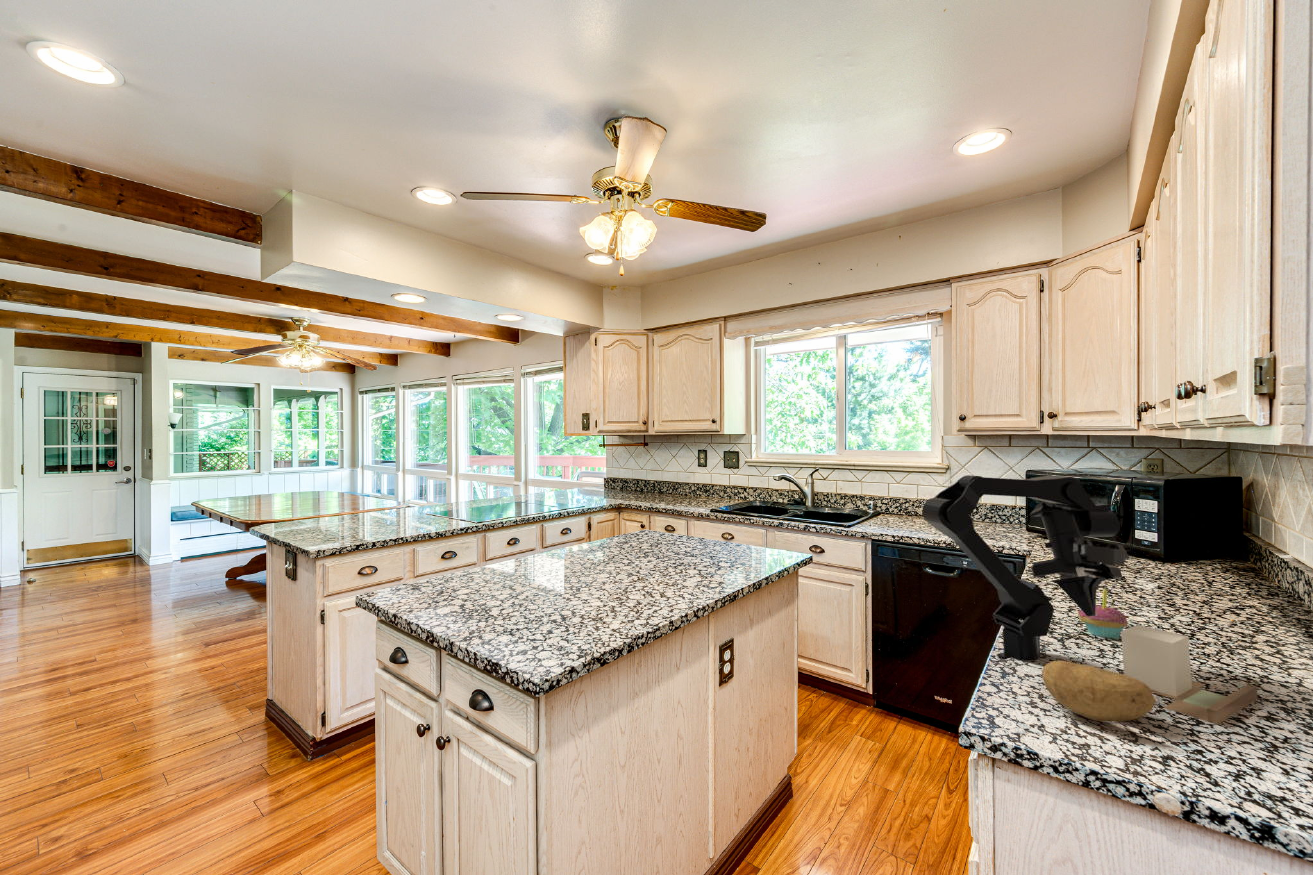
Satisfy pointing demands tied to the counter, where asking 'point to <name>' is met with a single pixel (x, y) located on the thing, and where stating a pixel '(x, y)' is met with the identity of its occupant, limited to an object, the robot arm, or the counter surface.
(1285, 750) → the counter surface
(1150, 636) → the block
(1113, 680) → the potato
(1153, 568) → the counter surface
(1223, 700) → the lane board
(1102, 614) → the cupcake
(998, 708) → the counter surface
